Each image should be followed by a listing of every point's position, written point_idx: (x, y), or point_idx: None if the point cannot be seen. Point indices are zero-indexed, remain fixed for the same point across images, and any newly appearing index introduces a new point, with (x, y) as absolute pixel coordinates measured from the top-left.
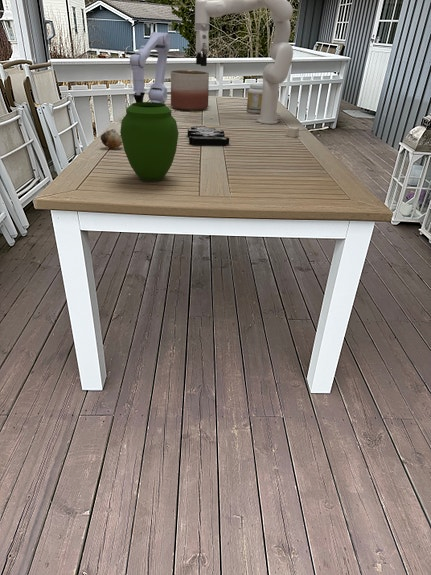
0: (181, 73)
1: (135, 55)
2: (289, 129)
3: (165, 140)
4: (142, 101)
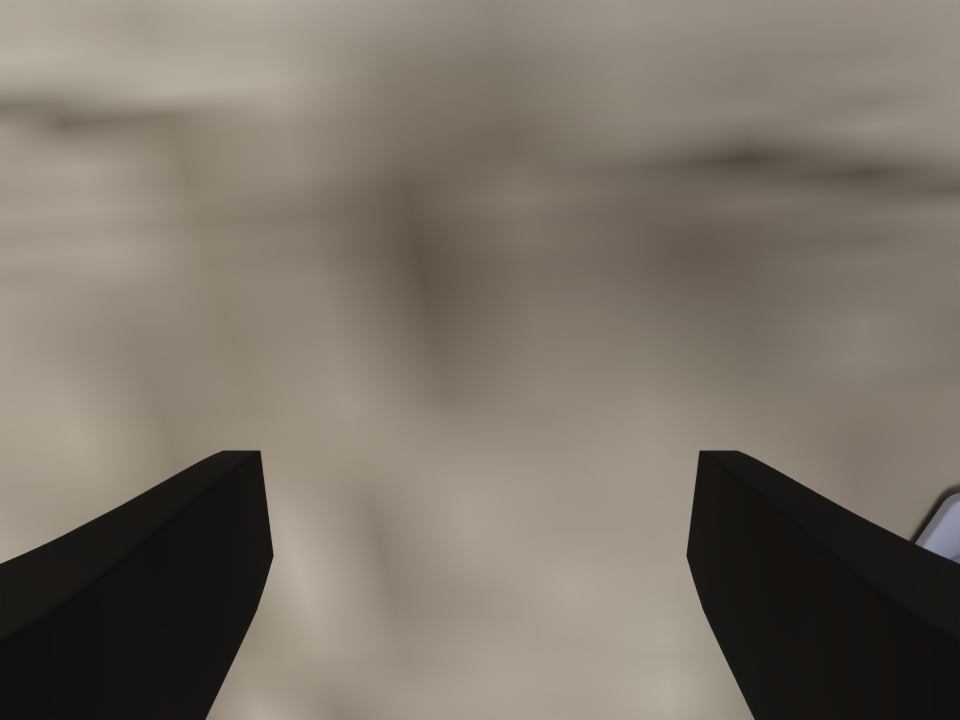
0: None
1: None
2: None
3: None
4: (752, 700)
